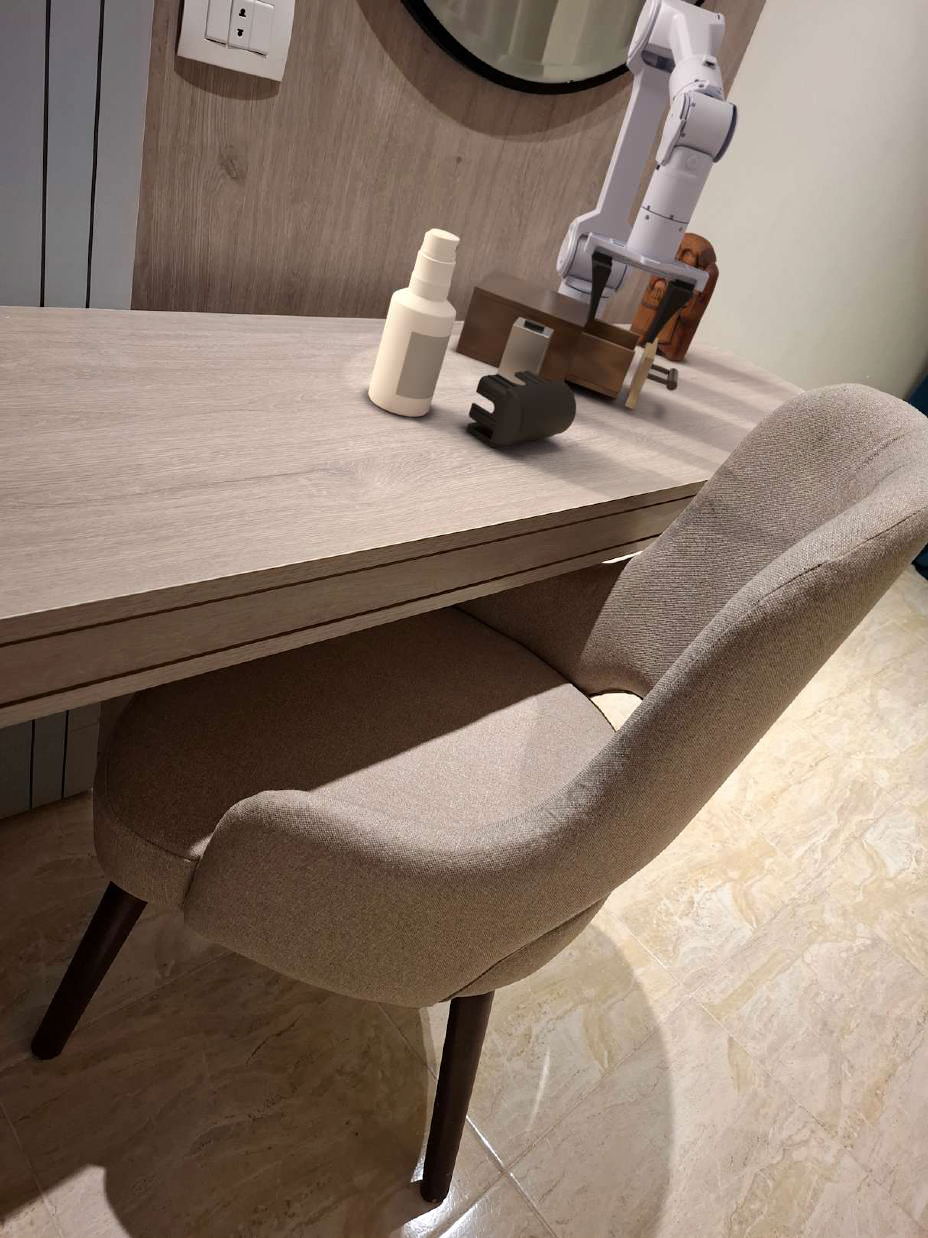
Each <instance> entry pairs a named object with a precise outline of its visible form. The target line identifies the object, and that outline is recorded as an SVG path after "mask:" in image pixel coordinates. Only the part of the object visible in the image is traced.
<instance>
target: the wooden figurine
mask: <svg viewBox="0 0 928 1238" xmlns="http://www.w3.org/2000/svg"><path fill="white" fill-rule="evenodd" d="M674 259H675V260H677V261H680V262H682V263H684V264H687V265H689V266H692V267H694V268H697V269H699V270H702V271H705V272H707V273H708V275H709V278H708V280H707V283H706V285H705V287H704V289H703V292H700V291H697V290H695V289H693V296H692V297H691V299H690V300H689V301H688V302H687V303H686V304H685V305H684V306H682V307H681V308H680V309H679V310H678V311H677V312H676V313H675V314H674V315H673V316H672V317H671V318H670V320H669V321H668V322H667V323H666V324H665V326H664V327H663V328H662V330H661V331H660V332H659V334H658V335H657V337H656V338H658V343H657V348H656V353H655V354H658V355H663V356H664V357H666V358H667V359H668V360H670V361H681V360H684V358H685V357H686V354H687V352H688V351H689V348H690V346H691V344H692V341H693V339H694V337H695V335H696V332H697V330H698V328H699V326H700V323H701V321H702V318H703V316H704V315H705V312H706V310H707V308H708V306H709V304H710V301H711V299H712V297H713V295H714V292H715V289H716V286H717V283H718V279H719V276H720V270H719V267H718V265H717V261H718V260H717V255H716V252H715V248H714V246H713V245H712V243H711V242H710V240H708V239H707V238H705V236H702V235H700V234H697V233H694V232H685V234H684V236H683V239H682V241H681V244H680V246H679V249H678V251H677V253H676V256H675V258H674ZM656 270H659V269H656ZM659 271H661V270H659ZM662 272H663V271H662ZM668 281H670V280H669V279H666V278H663V277H660V276H657V275H654V274H650V278H649V280H648V284H647V286H646V288H645V289H644V290H645V291H644V293H643V296H642V298H641V301H640V303H639V305H638V308H637V310H636V313H635V315H634V317H633V320H632V323H631V324H630V327H629V329H628V330H629V331H632V332H635V333H637V334H640V337H639V340H638V342H637V345H636V346H642V347H643V348H645V347H646V345H647V339H646V337H647V334H648V331H649V329H650V326H651V324H652V322H653V320H654V318H655V316H656V314H657V312H658V310H659V307H660V304H661V302H662V299H663V296H664V293H665V290H666V287H667V284H668Z"/></svg>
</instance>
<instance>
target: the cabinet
mask: <svg viewBox="0 0 928 1238" xmlns="http://www.w3.org/2000/svg"><path fill="white" fill-rule="evenodd" d="M471 294H472V295H471V298H470V302H469V305H468V309H467V312H466V315H465V317H464V318H465V319H464V322H463V326H462V329H461V332H460V335H459V340H458V343H457V346H456V349H455V352H456V353H459V354H462V355H464V356H468V357H469V358H472V359H475V360H478V361H480V362H483V363H486V364H489V365H491V366H494V367H495V368H499V367H500V364H501V361H502V357H503V354H504V351H505V348H506V345H507V342H508V339H509V336H510V333H511V330H512V327H513V324H514V323H515V322H516V321H517V319H518V318H519V317H521V318H524V319H530V320H533V321H535V322H538V323H541V324H543V325H546V326H545V327H548V328H551V329H553V330H554V332H553V335H552V338H551V341H550V344H549V346H548V349H547V352H546V355H545V358H544V361H543V364H542V366H541V369H540V372H539V375H538V376H539V377H540V378H542V379H544V380H545V381H547V382H549V383H551V382H559V381H563V382H564V383H566V380H565V377H566V374H567V372H568V369H569V366H570V364H571V361H572V358H573V355H574V353H575V350H576V347H577V345H578V342H579V339H580V336H581V334H582V331H583V329H584V327H585V325H586V323H587V315H588V311H589V306H590V304H587V303H585V302H582V301H579V300H577V299H574V298H571V297H569V296H566V295H563V294H561V293H558V291H555V290H552V289H549V288H547V287H545V286H541V285H538V284H537V283H535V282H534V283H533V282H531V281H528V280H525V279H523V278H520V277H518V276H515V275H512V274H509V273H506V272H504V271H501V270H499V269H496V268H494V269H493V270H492V271H491V272H489V273H488V274H487V275H486V276H485V277H484V278H483V279H481V280H480V281H479V282H478V283H477V284H476V285H474V288H473V291H472V293H471Z"/></svg>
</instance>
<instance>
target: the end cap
mask: <svg viewBox="0 0 928 1238" xmlns="http://www.w3.org/2000/svg"><path fill="white" fill-rule="evenodd" d="M514 376H515V377H516V378H518V379H520V380H521V381H523V382H524V383H525V385H520V384H516V383H513V382H511V381H509V380H508V379H506V378H504V377H503V376H501V375H499V374H497V373H495V374H487V375H482V377H480V379H479V380H478V384H477V387H476V390H475V393H476V394H478V395H480V396H481V397H483V398H484V399H486V400H487V401H489V402H491V403H492V404H493V411H492V412H490V411H488V410H487V409H485V408H484V407H482V406H481V405H479V404H478V403H476V402H472V403H471V406H470V409H469V413H468V417H469V419H471V420H473V421H474V422H469V423H467V426H466V431H467V432H468V433H470V434H471V435H473V436H474V437H476V438H477V439H478V440H480V441H482V442H483V443H485V444H486V445H488V446H490V447H493V448H495V449H497V448H502V447H506V446H512V445H517V444H521V443H526V442H532V441H537V440H542V439H546V438H547V439H548V438H551V437H554V436H556V435H560V434H562V433H564V432H566V431H567V430H568V429H570V427H571V426H572V424H573V422H574V420H575V418H576V414H577V401H576V396H575V395H574V391H572V389H571V387H570V386H569V385H568V384H567V383H566V382H563V381H559V382H551V383H549V382H547V381H545V380H544V379H542V378H540V377H539V376H537V375H535V374H534V373H532V372H530V371H523V372H521V371H520V372H515V375H514Z"/></svg>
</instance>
